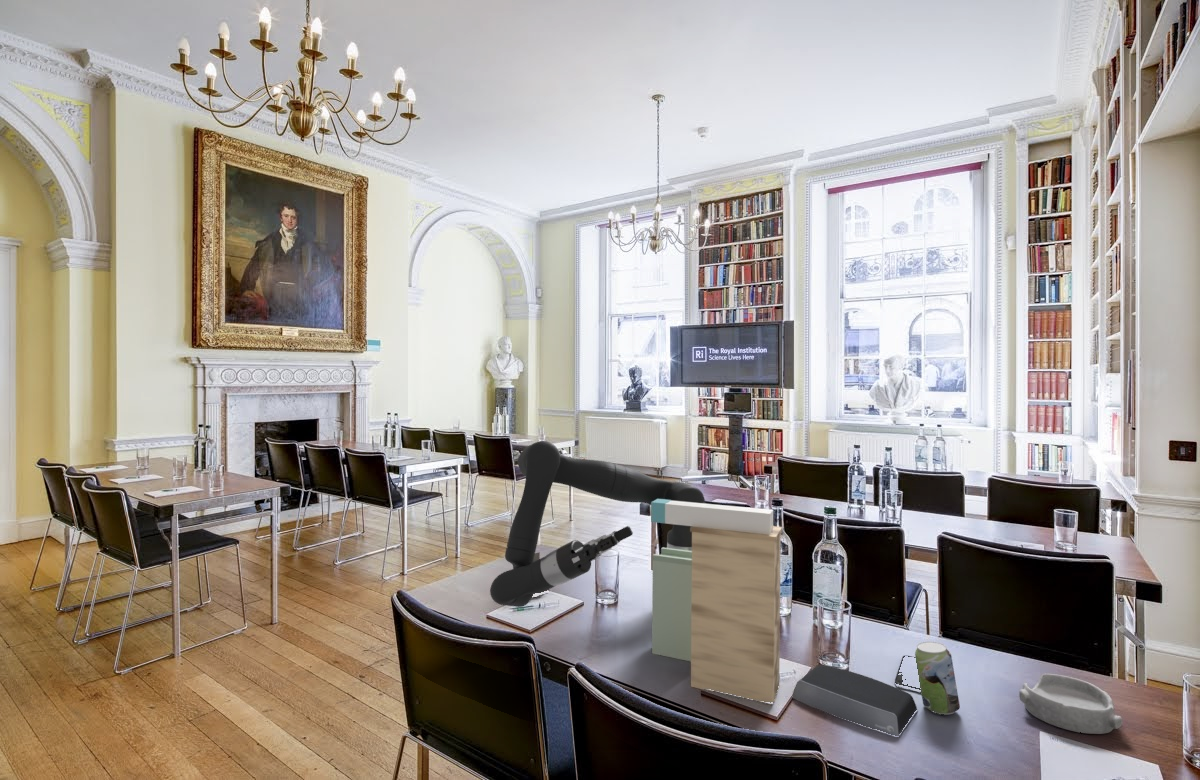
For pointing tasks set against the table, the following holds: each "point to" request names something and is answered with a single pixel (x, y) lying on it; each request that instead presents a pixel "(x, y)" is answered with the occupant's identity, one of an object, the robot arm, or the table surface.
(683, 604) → the sage green upright box
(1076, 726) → the dish
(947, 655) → the beverage can
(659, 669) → the table surface
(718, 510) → the white teal square bar
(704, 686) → the oak stand
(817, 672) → the external hard drive
